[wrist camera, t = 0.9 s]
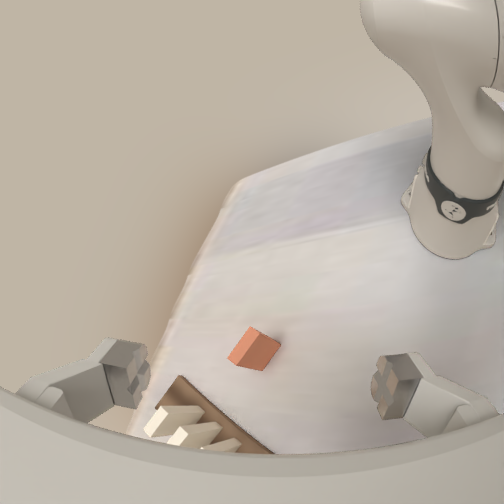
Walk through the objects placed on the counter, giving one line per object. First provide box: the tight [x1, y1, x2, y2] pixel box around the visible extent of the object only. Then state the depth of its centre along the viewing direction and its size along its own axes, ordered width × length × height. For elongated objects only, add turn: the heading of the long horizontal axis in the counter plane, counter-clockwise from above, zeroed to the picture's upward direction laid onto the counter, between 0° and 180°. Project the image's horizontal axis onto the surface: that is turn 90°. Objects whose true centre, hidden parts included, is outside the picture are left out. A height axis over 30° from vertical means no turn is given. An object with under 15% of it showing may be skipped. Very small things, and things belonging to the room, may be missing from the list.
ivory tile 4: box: [167, 421, 223, 449], centre depth 35 cm, size 2×5×10 cm, turn 142°
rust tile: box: [227, 326, 281, 371], centre depth 40 cm, size 2×5×10 cm, turn 142°
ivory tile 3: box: [200, 437, 242, 452], centre depth 33 cm, size 2×5×10 cm, turn 143°
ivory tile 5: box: [143, 405, 205, 437], centre depth 38 cm, size 2×5×10 cm, turn 142°
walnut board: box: [155, 375, 274, 454], centre depth 39 cm, size 8×26×1 cm, turn 52°
